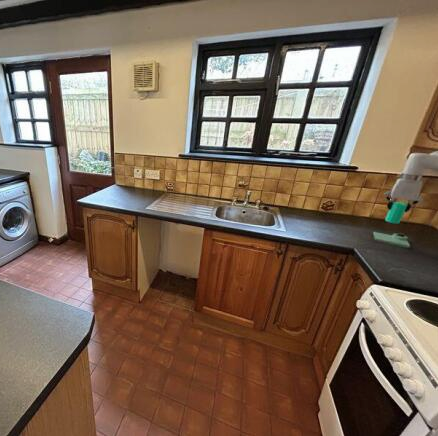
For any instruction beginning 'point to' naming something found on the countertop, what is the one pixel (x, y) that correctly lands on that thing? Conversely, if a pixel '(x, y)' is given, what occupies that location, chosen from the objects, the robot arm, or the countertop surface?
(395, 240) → the scale
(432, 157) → the robot arm
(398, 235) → the tare button
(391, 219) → the candle
